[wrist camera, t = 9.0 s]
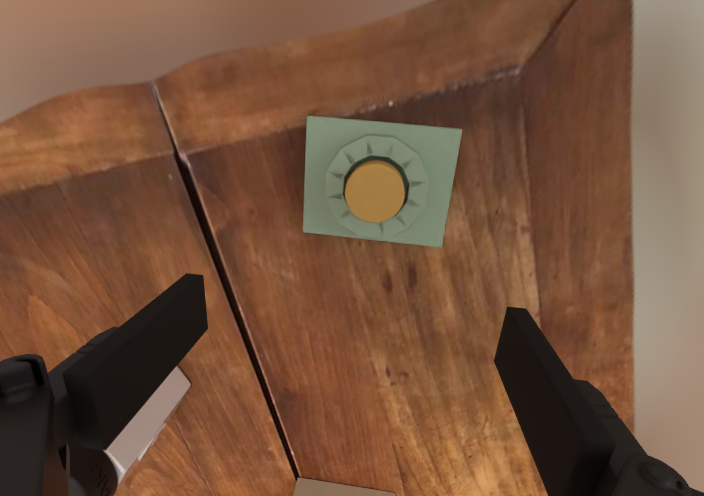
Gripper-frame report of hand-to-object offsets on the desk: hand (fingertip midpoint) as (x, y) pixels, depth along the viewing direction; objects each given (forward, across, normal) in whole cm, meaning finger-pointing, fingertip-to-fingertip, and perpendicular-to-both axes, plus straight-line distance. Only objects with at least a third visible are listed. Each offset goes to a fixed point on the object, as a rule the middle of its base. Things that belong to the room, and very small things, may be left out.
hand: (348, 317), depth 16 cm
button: (+10, 0, +4) cm, 10 cm away
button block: (+13, 0, +4) cm, 13 cm away
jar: (+13, -20, -17) cm, 29 cm away
